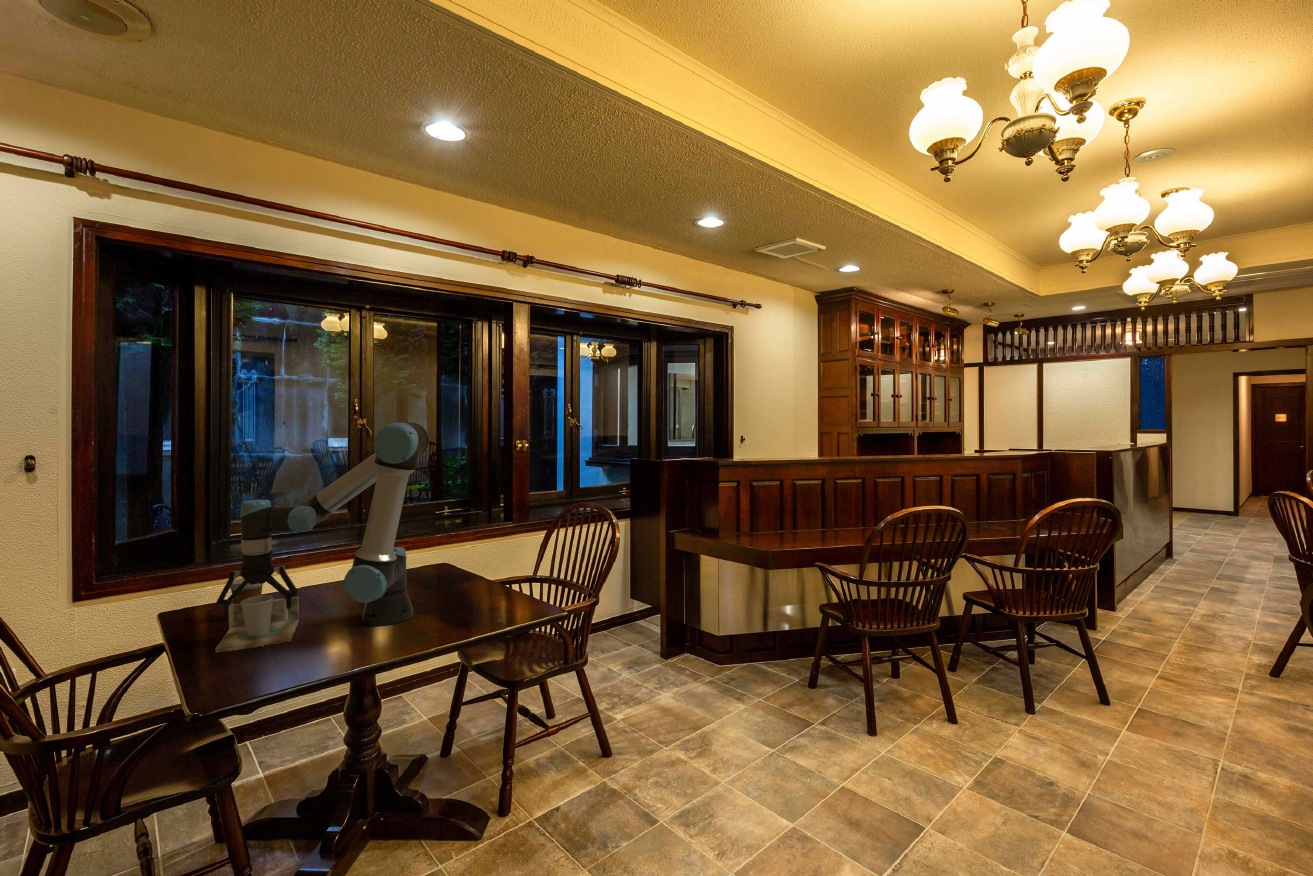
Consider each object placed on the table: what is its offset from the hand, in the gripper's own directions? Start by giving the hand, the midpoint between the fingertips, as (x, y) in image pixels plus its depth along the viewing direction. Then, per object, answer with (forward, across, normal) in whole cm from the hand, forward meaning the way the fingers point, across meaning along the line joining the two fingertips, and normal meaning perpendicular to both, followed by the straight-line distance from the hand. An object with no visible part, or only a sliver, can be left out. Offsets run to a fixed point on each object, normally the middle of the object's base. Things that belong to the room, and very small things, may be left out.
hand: (259, 623), depth 179 cm
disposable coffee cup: (+4, +7, -24) cm, 25 cm away
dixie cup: (+3, 0, 0) cm, 3 cm away
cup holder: (+4, 0, 0) cm, 4 cm away
